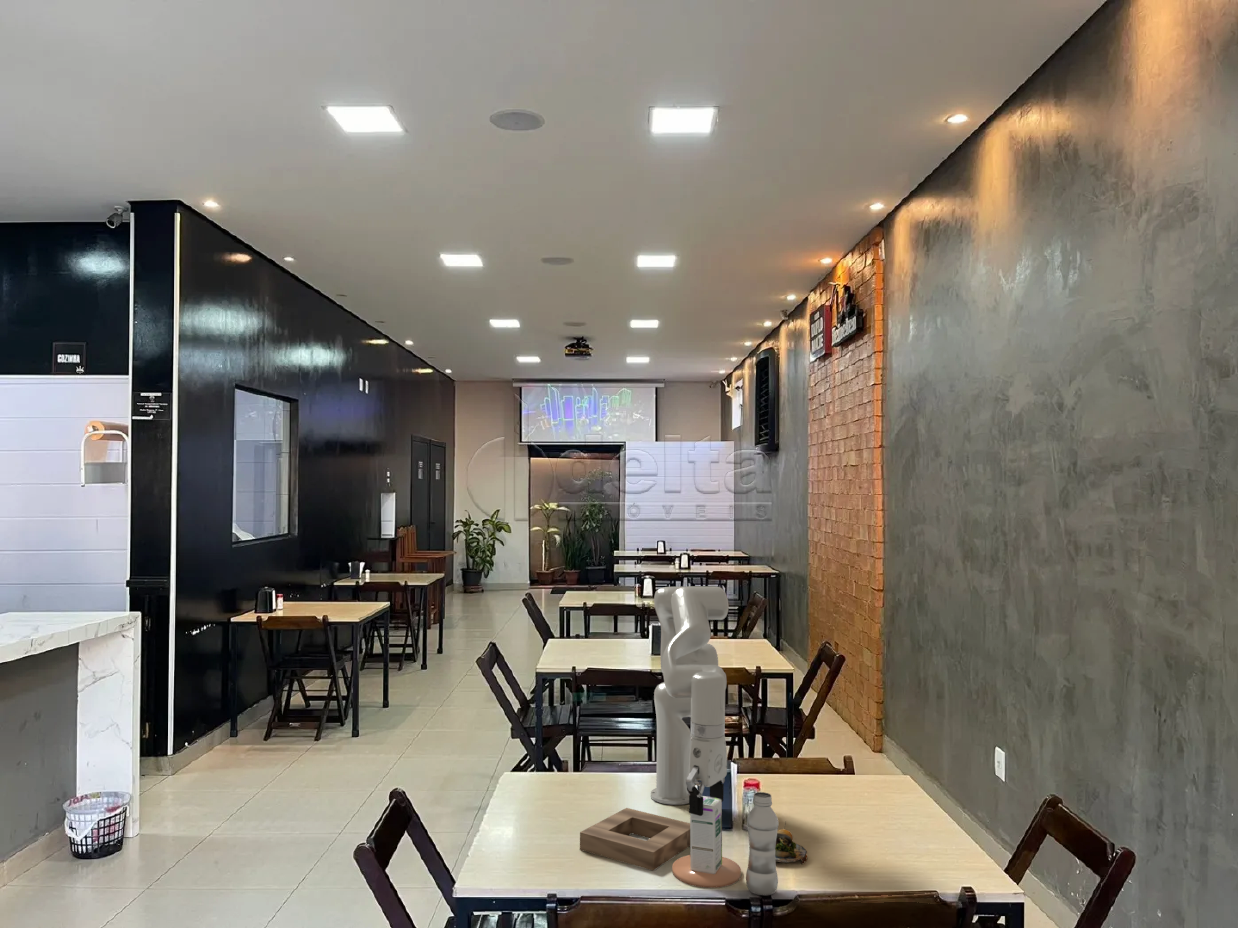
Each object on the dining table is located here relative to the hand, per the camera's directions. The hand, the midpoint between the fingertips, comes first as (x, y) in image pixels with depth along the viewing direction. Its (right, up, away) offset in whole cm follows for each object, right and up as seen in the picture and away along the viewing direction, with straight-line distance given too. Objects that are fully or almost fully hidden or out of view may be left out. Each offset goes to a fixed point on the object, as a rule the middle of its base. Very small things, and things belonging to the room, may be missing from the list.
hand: (706, 807), depth 189 cm
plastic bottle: (+10, -14, -11) cm, 20 cm away
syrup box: (0, -13, -1) cm, 13 cm away
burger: (+18, -15, +8) cm, 25 cm away
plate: (0, -14, -1) cm, 14 cm away
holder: (-15, -14, +13) cm, 24 cm away
